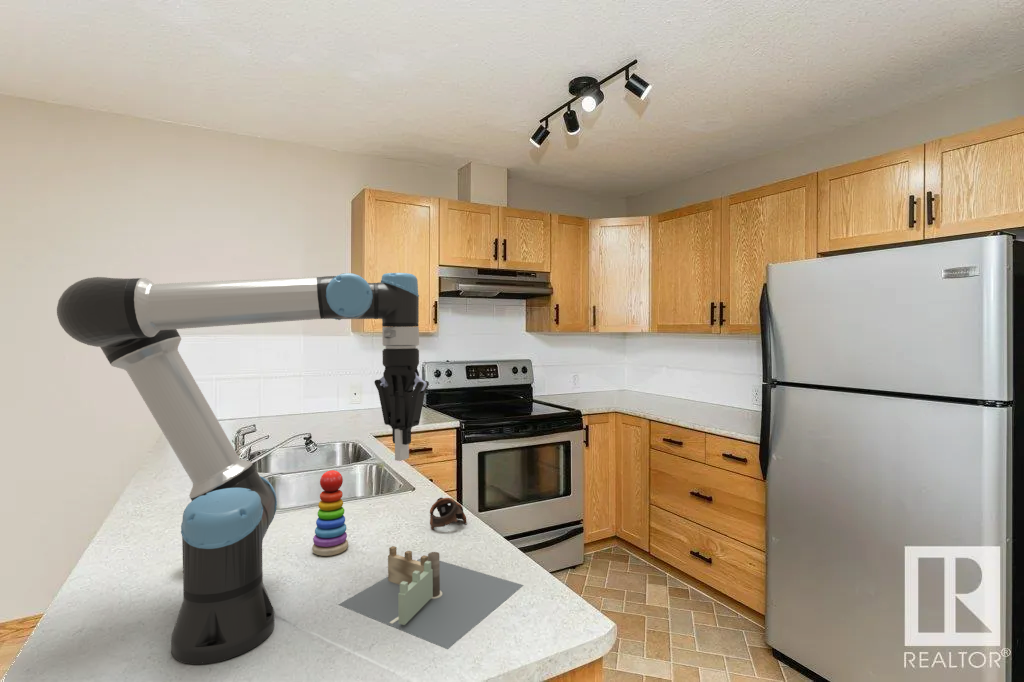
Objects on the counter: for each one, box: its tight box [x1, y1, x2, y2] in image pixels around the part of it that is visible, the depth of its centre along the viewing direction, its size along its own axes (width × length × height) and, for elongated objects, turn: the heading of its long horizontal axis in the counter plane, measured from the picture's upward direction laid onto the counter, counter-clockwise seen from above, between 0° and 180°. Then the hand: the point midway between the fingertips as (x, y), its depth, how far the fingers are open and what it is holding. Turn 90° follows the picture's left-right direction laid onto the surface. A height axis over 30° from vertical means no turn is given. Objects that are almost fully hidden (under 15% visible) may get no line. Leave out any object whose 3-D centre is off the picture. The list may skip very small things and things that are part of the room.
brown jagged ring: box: [429, 497, 467, 530], centre depth 136 cm, size 12×10×8 cm
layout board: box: [337, 557, 524, 650], centre depth 98 cm, size 24×26×1 cm
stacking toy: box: [311, 469, 349, 557], centre depth 120 cm, size 8×8×19 cm
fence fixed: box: [387, 545, 441, 597], centre depth 101 cm, size 13×2×8 cm, turn 58°
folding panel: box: [398, 561, 433, 625], centre depth 92 cm, size 10×1×7 cm, turn 160°
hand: (402, 459), depth 108 cm, fingers closed
